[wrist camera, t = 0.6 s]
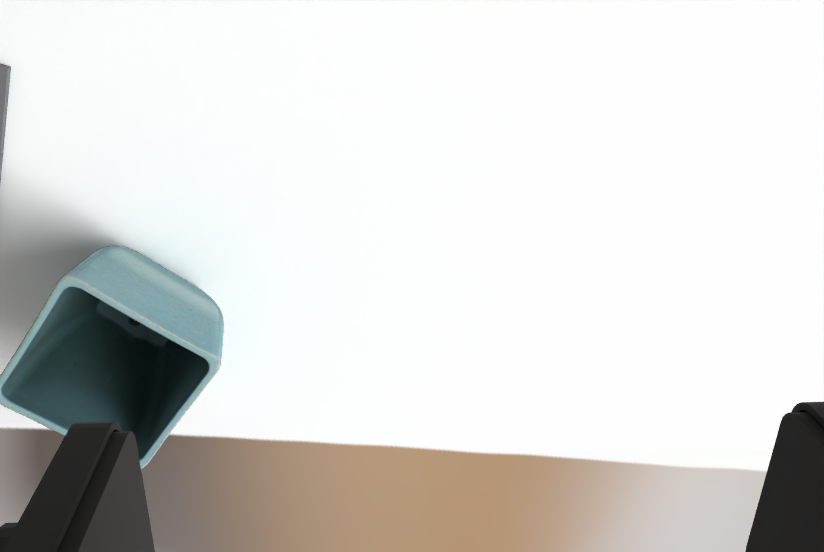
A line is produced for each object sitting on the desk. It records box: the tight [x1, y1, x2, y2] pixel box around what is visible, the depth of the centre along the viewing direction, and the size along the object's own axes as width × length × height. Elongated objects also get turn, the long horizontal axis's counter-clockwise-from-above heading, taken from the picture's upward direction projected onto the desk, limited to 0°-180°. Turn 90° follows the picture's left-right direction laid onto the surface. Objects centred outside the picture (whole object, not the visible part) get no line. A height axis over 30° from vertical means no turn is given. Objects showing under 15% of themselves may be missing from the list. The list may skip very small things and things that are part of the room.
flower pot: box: [0, 246, 224, 469], centre depth 43 cm, size 9×9×9 cm
